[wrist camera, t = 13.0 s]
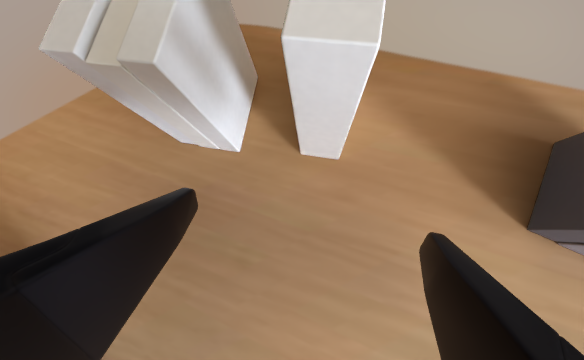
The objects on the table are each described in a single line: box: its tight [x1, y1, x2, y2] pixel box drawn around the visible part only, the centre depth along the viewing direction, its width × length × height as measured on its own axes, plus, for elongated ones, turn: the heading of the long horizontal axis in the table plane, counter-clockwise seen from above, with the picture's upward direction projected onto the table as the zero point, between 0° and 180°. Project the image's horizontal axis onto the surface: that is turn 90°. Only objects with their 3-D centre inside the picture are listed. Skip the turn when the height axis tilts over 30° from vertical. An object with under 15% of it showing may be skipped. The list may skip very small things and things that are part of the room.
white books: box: [39, 0, 258, 152], centre depth 14 cm, size 7×5×10 cm
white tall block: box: [281, 0, 386, 159], centre depth 13 cm, size 6×3×11 cm, turn 170°
